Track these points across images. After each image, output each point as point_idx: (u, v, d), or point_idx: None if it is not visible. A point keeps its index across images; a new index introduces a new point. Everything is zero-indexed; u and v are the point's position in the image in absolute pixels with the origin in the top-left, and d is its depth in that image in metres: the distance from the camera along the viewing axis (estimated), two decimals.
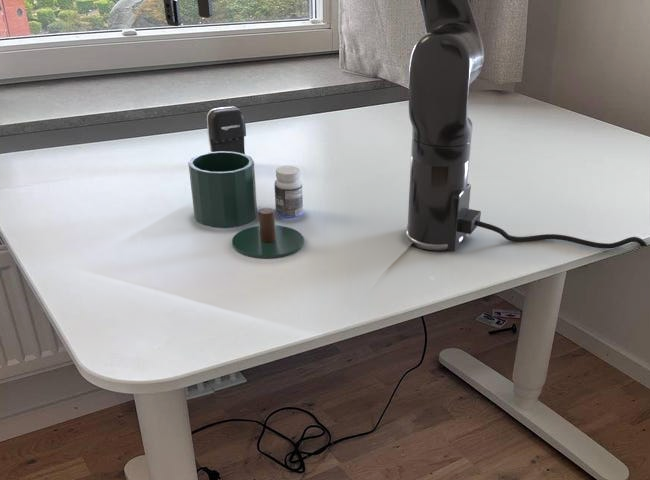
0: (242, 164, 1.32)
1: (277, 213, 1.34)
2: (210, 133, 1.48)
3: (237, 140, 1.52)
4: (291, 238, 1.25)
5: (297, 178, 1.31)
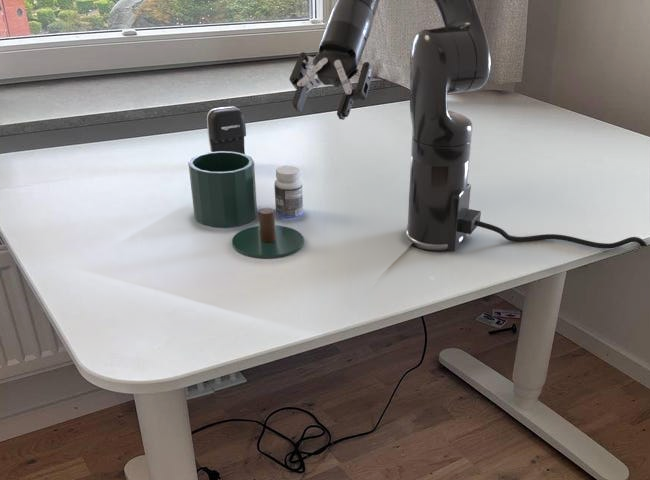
0: (242, 164, 1.32)
1: (277, 213, 1.34)
2: (210, 133, 1.48)
3: (237, 140, 1.52)
4: (291, 238, 1.25)
5: (297, 178, 1.31)
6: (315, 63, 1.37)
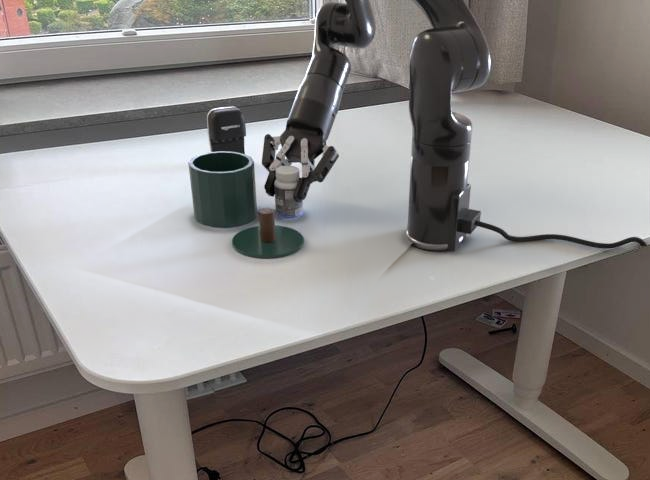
0: (242, 164, 1.32)
1: (277, 213, 1.34)
2: (210, 133, 1.48)
3: (237, 140, 1.52)
4: (291, 238, 1.25)
5: (297, 178, 1.31)
6: (282, 141, 1.33)
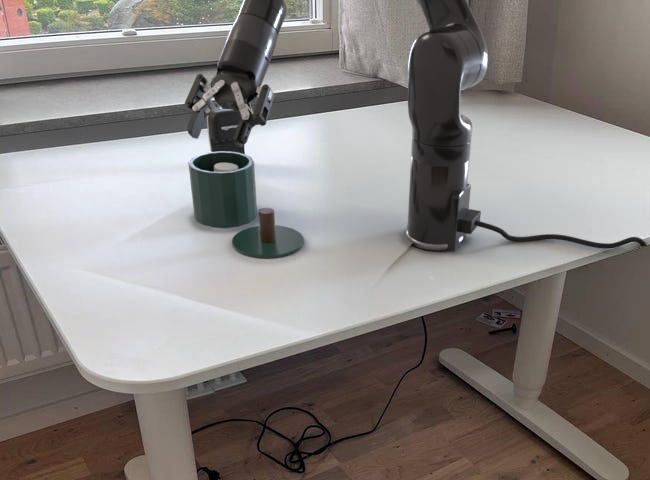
0: (242, 164, 1.32)
1: None
2: (210, 133, 1.48)
3: None
4: (291, 238, 1.25)
5: None
6: (212, 86, 1.26)
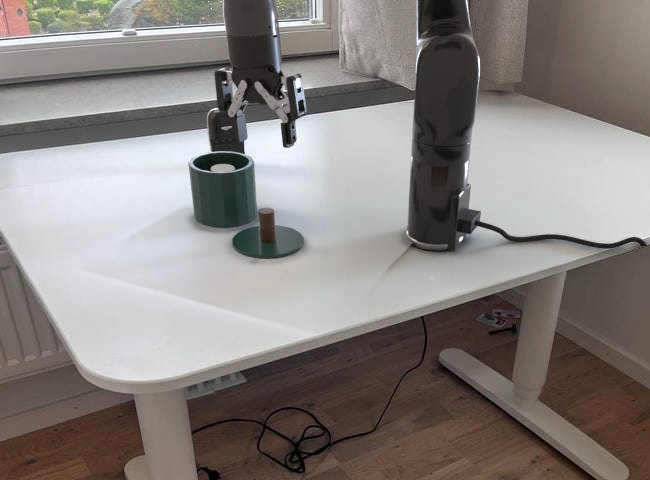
0: (242, 164, 1.32)
1: None
2: (210, 133, 1.48)
3: None
4: (291, 238, 1.25)
5: None
6: (235, 84, 1.14)
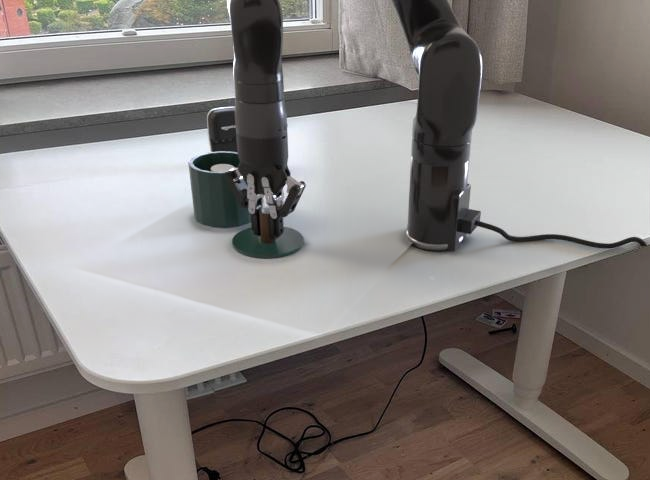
0: None
1: None
2: (210, 133, 1.48)
3: None
4: (291, 238, 1.25)
5: None
6: (242, 175, 1.19)
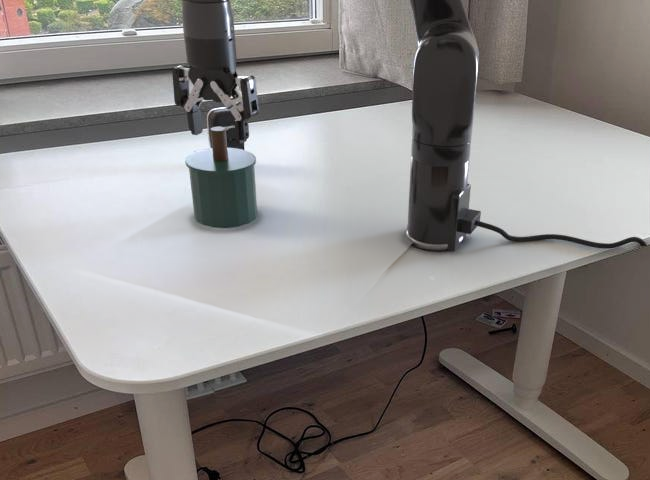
0: None
1: None
2: (210, 133, 1.48)
3: None
4: (243, 158, 1.28)
5: None
6: (192, 81, 1.21)
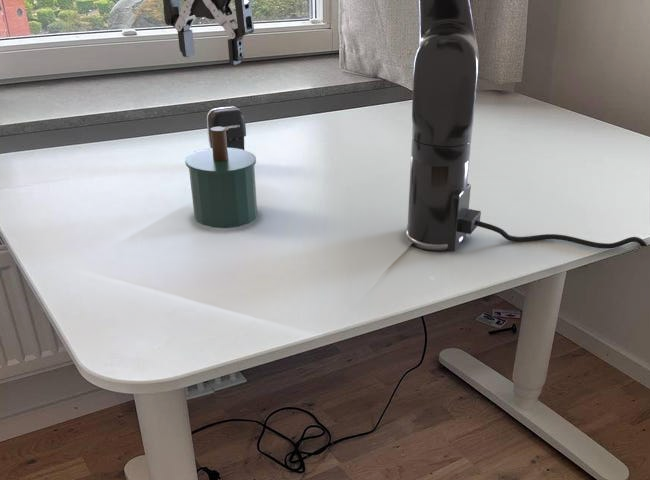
0: None
1: None
2: (210, 133, 1.48)
3: (237, 140, 1.52)
4: (243, 158, 1.28)
5: None
6: None
